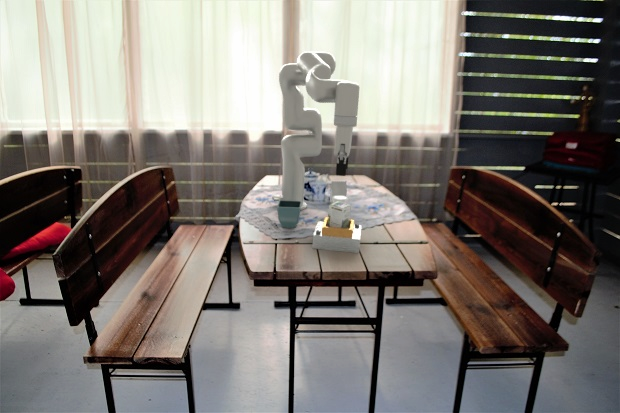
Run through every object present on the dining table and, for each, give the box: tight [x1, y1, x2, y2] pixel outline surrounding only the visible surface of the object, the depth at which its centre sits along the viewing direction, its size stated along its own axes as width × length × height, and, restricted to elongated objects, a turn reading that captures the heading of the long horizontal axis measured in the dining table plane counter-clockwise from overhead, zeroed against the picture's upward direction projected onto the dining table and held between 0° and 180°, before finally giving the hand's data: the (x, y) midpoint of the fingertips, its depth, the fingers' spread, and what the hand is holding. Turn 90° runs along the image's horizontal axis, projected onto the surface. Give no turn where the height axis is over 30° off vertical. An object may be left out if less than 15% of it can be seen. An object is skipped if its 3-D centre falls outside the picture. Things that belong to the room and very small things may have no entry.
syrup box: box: [327, 201, 352, 228], centre depth 159 cm, size 6×6×14 cm
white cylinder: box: [332, 195, 349, 204], centre depth 192 cm, size 7×7×7 cm
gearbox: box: [311, 216, 362, 254], centre depth 159 cm, size 16×14×8 cm
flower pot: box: [276, 200, 302, 229], centre depth 174 cm, size 9×9×9 cm
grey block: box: [329, 180, 348, 205], centre depth 206 cm, size 4×7×10 cm, turn 99°
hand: (341, 171), depth 152 cm, fingers open, 9 cm apart
